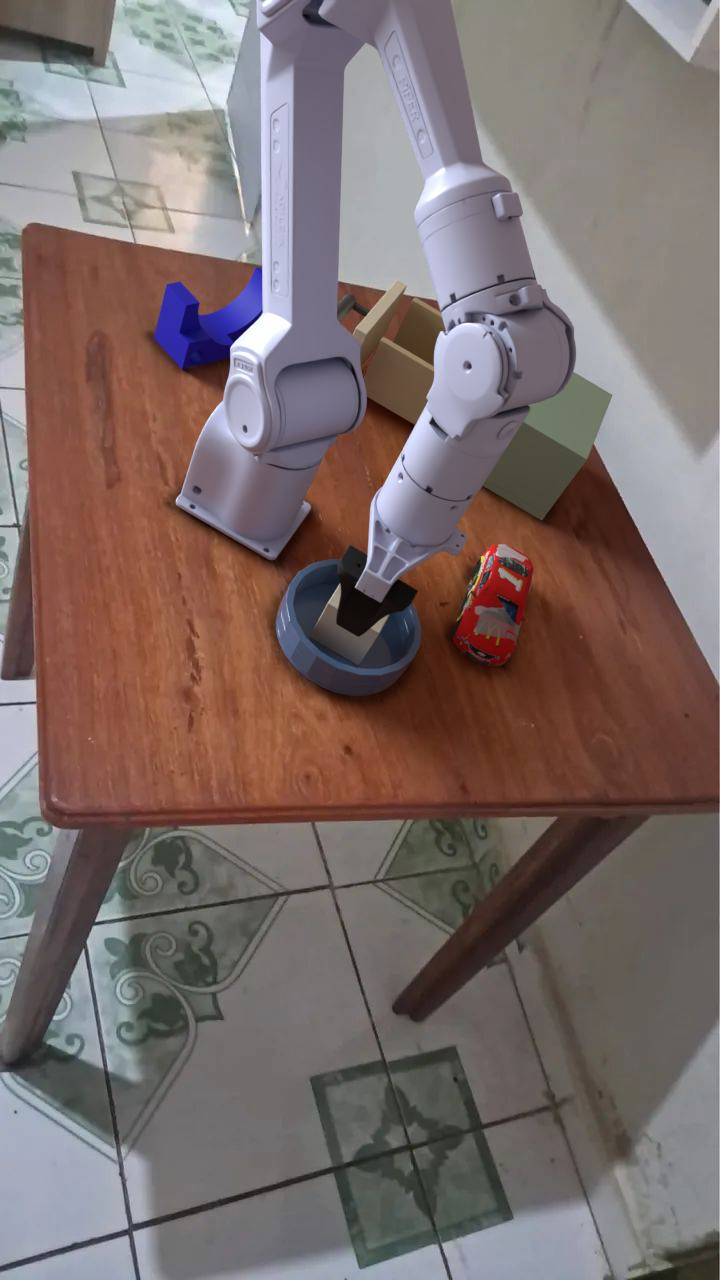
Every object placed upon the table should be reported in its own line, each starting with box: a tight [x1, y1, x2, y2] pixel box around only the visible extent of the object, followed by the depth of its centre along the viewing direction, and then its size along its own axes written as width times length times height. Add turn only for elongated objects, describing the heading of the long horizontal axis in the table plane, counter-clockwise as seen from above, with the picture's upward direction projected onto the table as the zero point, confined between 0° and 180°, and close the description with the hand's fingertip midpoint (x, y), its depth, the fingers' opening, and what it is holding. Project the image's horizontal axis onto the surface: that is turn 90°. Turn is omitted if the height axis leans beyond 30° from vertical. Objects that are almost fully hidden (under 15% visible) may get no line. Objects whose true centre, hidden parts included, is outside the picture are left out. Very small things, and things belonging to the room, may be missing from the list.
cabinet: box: [482, 371, 613, 521], centre depth 96 cm, size 15×13×9 cm
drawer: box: [337, 279, 446, 426], centre depth 95 cm, size 17×11×7 cm, turn 67°
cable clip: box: [153, 266, 263, 370], centre depth 91 cm, size 12×4×6 cm, turn 133°
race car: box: [451, 543, 534, 667], centre depth 83 cm, size 13×5×4 cm, turn 161°
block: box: [310, 584, 390, 666], centre depth 75 cm, size 4×4×4 cm
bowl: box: [275, 558, 422, 697], centre depth 76 cm, size 11×11×3 cm
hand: (367, 595), depth 72 cm, fingers open, 7 cm apart
